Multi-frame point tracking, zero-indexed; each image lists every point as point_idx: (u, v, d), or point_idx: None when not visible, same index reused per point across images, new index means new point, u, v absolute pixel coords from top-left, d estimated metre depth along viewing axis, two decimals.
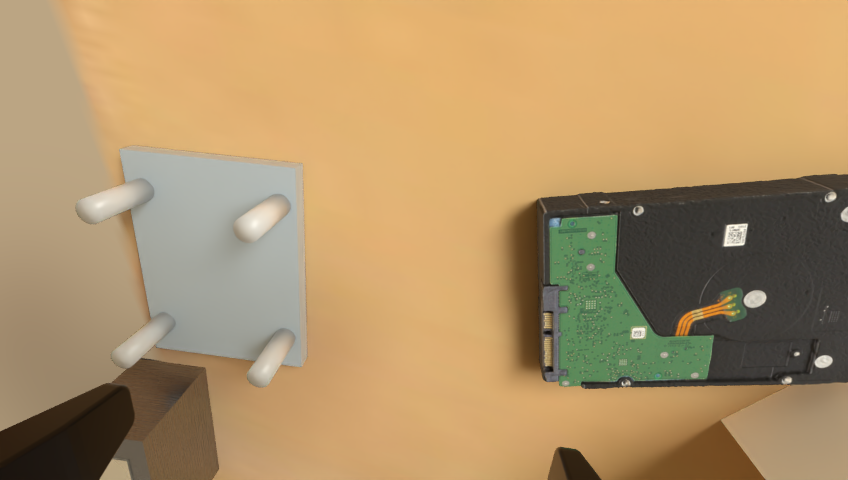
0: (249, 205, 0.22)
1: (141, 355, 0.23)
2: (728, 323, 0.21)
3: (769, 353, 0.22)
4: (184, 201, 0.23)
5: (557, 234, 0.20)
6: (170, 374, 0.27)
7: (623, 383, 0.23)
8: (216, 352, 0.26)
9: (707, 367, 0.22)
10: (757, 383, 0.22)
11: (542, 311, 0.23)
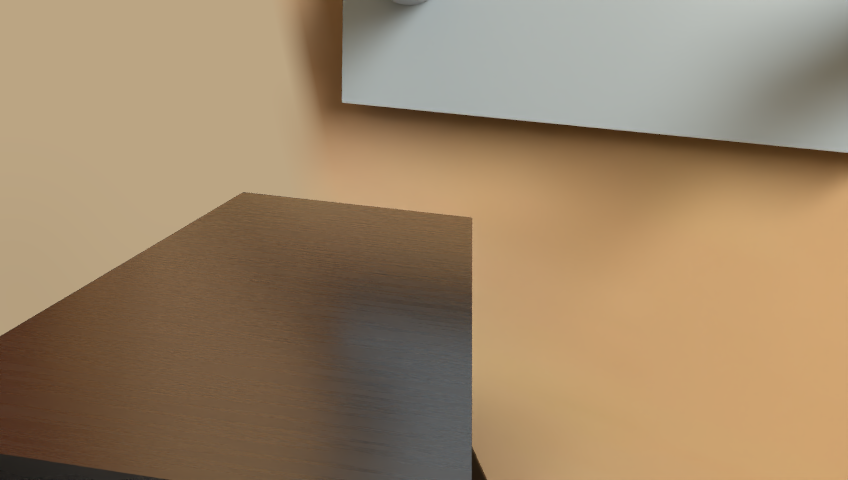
0: None
1: None
2: None
3: None
4: None
5: None
6: (372, 228, 0.07)
7: None
8: (596, 110, 0.06)
9: None
10: None
11: None
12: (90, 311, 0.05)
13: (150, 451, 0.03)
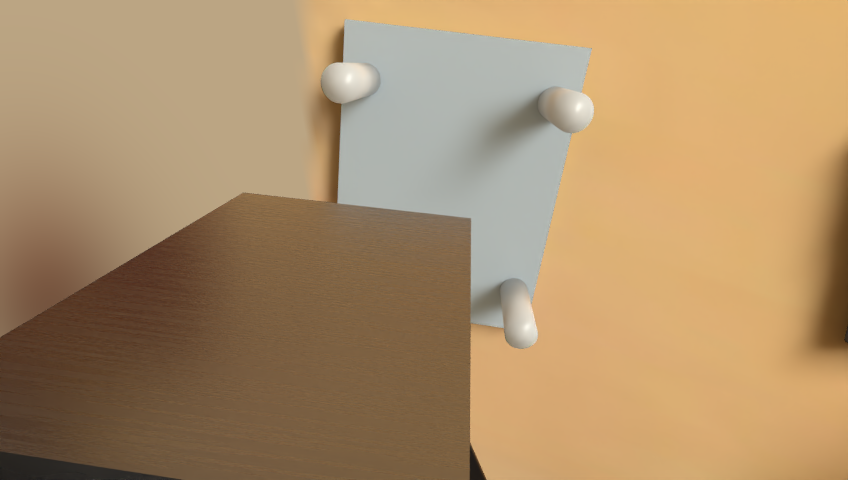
0: (511, 103, 0.17)
1: None
2: None
3: None
4: (420, 97, 0.17)
5: None
6: (371, 228, 0.08)
7: None
8: None
9: None
10: None
11: None
12: (92, 311, 0.05)
13: (151, 448, 0.03)
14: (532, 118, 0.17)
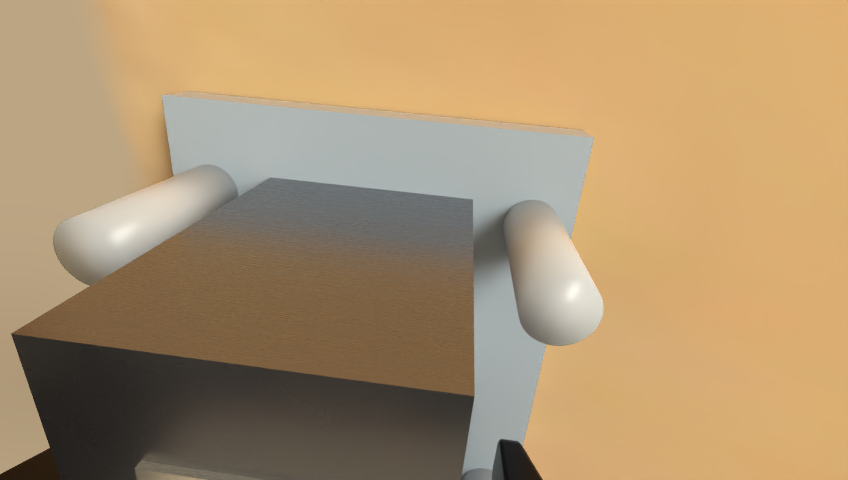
0: None
1: None
2: None
3: None
4: None
5: None
6: (386, 207, 0.09)
7: None
8: None
9: None
10: None
11: None
12: (167, 263, 0.06)
13: (236, 350, 0.04)
14: (495, 248, 0.10)
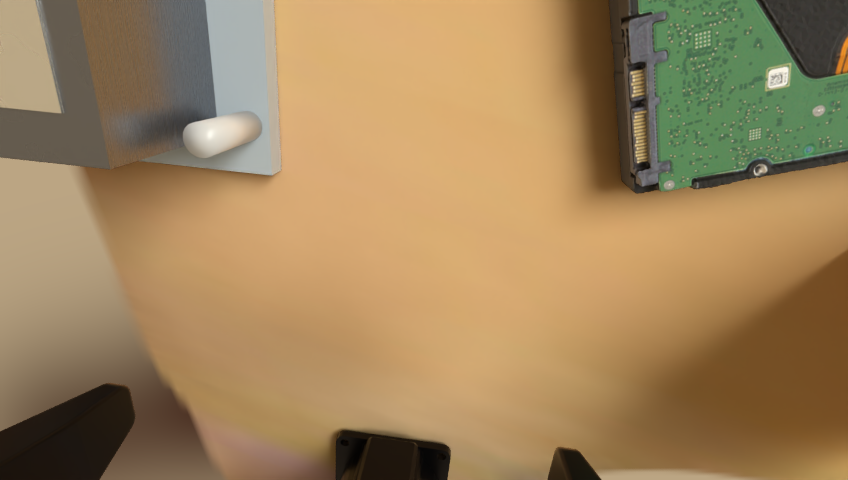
0: None
1: None
2: None
3: None
4: None
5: None
6: None
7: (756, 172, 0.16)
8: (154, 157, 0.19)
9: None
10: None
11: (627, 74, 0.16)
12: None
13: None
14: None
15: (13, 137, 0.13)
